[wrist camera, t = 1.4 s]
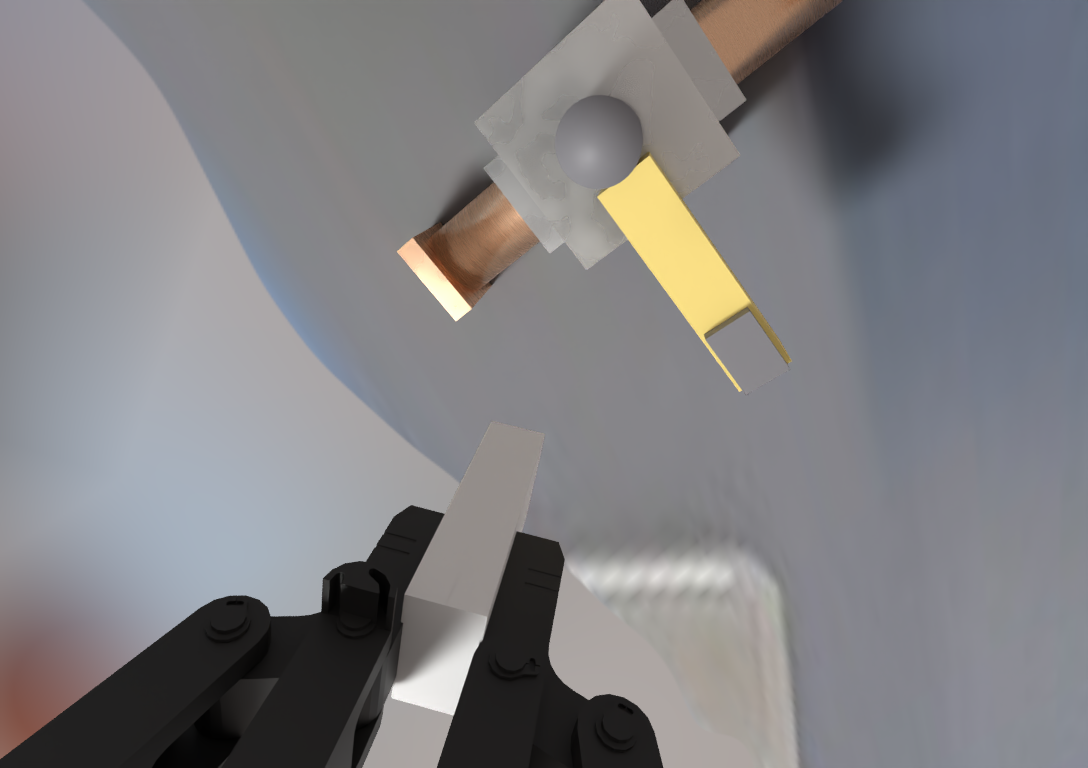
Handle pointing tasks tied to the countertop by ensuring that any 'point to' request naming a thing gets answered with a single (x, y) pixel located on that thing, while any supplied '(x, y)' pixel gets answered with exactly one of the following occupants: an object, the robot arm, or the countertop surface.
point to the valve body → (621, 72)
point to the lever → (668, 237)
